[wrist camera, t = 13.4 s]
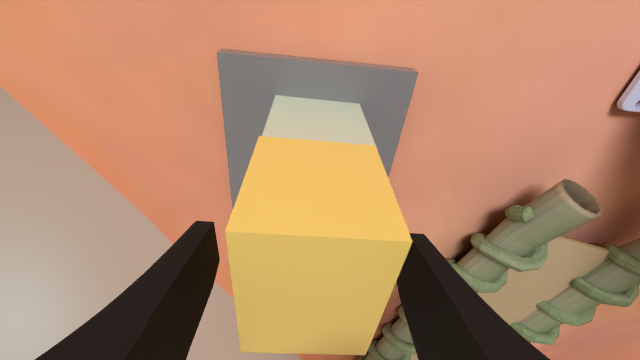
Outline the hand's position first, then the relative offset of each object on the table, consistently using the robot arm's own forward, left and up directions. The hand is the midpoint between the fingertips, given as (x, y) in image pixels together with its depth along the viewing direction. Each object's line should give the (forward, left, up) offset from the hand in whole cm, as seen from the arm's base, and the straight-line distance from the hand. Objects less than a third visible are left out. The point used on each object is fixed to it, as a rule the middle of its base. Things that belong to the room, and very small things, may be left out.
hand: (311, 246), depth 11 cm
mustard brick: (0, 0, -2) cm, 2 cm away
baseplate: (0, 0, -8) cm, 8 cm away
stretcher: (-16, +21, -9) cm, 28 cm away
